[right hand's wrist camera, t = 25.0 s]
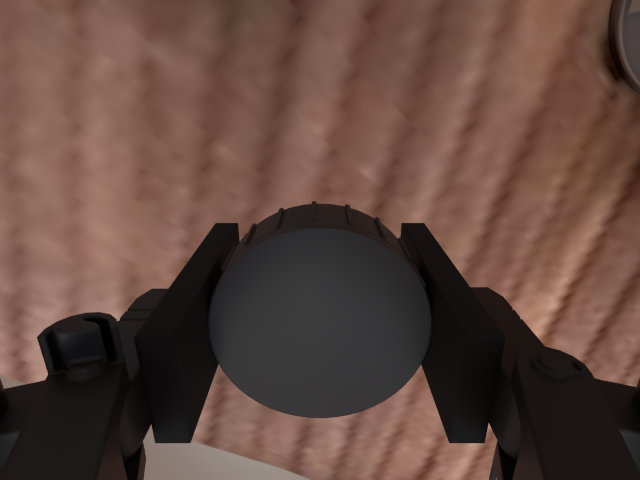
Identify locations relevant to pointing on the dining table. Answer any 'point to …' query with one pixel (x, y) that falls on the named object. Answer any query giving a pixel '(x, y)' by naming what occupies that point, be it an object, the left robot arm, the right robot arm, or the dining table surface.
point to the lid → (319, 312)
